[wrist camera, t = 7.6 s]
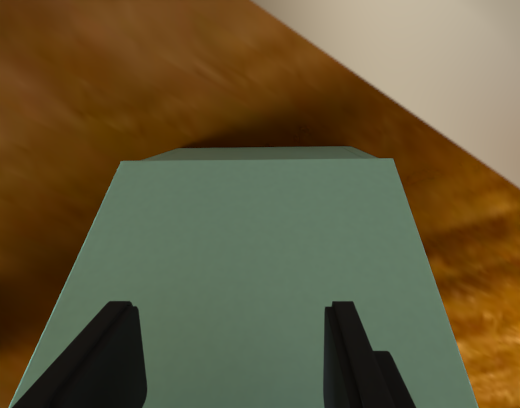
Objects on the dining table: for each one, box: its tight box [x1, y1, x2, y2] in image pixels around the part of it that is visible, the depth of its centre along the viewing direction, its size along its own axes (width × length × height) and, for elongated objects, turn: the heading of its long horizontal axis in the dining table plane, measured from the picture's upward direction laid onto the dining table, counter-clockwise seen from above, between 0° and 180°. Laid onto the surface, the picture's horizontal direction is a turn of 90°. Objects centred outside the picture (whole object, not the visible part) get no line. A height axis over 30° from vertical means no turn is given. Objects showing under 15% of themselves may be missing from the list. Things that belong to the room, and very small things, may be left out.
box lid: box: [9, 158, 479, 408], centre depth 13 cm, size 17×15×5 cm
